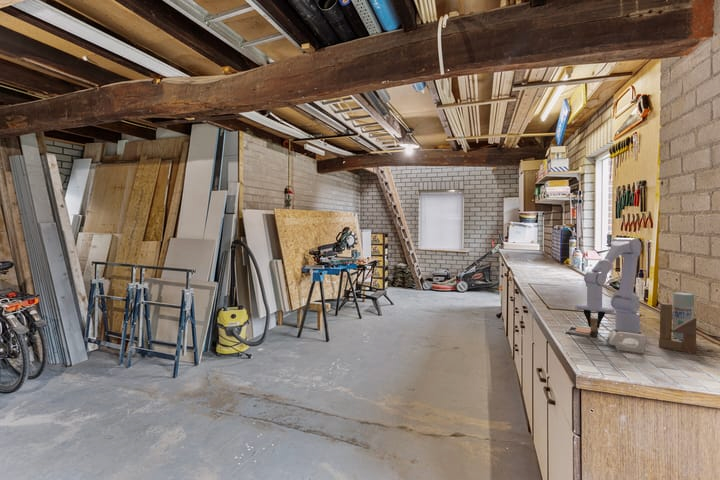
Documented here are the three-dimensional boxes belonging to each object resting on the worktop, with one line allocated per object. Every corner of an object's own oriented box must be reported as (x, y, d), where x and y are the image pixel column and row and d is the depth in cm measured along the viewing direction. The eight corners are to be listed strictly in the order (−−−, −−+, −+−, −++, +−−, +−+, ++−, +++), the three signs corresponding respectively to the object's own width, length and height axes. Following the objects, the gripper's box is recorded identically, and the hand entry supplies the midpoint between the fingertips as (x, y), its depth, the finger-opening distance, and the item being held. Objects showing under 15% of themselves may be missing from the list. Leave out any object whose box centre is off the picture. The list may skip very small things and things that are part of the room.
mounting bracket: (605, 351, 139) (606, 330, 135) (605, 341, 144) (606, 321, 140) (643, 357, 132) (645, 336, 128) (642, 346, 137) (644, 325, 133)
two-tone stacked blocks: (598, 333, 156) (597, 316, 156) (597, 337, 150) (596, 320, 150) (591, 332, 157) (591, 316, 157) (590, 336, 152) (589, 319, 152)
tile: (591, 333, 157) (591, 330, 157) (590, 336, 152) (590, 333, 152) (576, 331, 161) (576, 327, 161) (574, 334, 156) (574, 330, 156)
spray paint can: (692, 338, 148) (693, 293, 147) (693, 342, 143) (694, 295, 142) (672, 335, 152) (673, 291, 151) (672, 339, 147) (673, 293, 147)
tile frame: (591, 331, 159) (591, 329, 159) (588, 337, 151) (588, 335, 151) (569, 327, 165) (569, 325, 165) (565, 333, 156) (565, 331, 156)
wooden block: (695, 353, 131) (697, 307, 130) (658, 347, 138) (659, 303, 137) (695, 351, 133) (696, 306, 133) (658, 344, 141) (660, 302, 140)
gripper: (574, 297, 155) (574, 326, 155) (613, 301, 146) (613, 332, 146) (576, 294, 160) (576, 323, 161) (614, 298, 151) (614, 328, 152)
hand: (593, 327), depth 154 cm, fingers closed on two-tone stacked blocks, 2 cm apart
